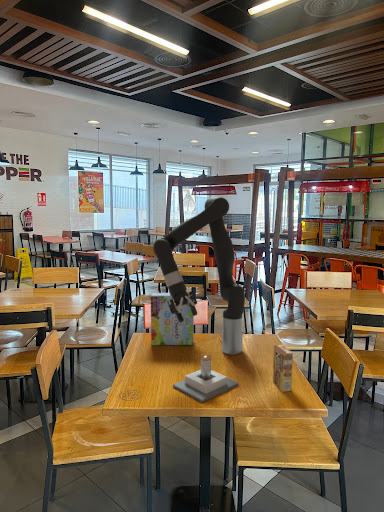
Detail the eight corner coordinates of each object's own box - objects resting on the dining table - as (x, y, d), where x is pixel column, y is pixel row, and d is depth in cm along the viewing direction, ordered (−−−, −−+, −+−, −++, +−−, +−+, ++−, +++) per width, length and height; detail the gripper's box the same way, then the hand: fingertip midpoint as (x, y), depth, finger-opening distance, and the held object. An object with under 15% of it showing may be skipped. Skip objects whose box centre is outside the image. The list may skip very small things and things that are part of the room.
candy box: (292, 391, 141) (294, 352, 139) (281, 392, 140) (283, 353, 138) (281, 380, 150) (283, 344, 148) (271, 381, 149) (273, 345, 147)
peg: (205, 380, 147) (206, 353, 146) (212, 383, 144) (213, 356, 143) (198, 383, 145) (198, 356, 143) (205, 386, 142) (206, 359, 140)
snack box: (193, 340, 196) (194, 292, 192) (193, 346, 187) (194, 296, 184) (152, 339, 196) (152, 291, 193) (150, 345, 187) (150, 295, 184)
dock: (209, 372, 157) (209, 363, 157) (238, 385, 146) (238, 375, 145) (173, 386, 143) (173, 377, 143) (202, 402, 132) (202, 392, 131)
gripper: (168, 284, 152) (183, 322, 151) (191, 276, 162) (205, 311, 161) (157, 289, 157) (171, 325, 156) (181, 281, 168) (194, 315, 166)
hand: (188, 318), depth 158 cm, fingers open, 8 cm apart
